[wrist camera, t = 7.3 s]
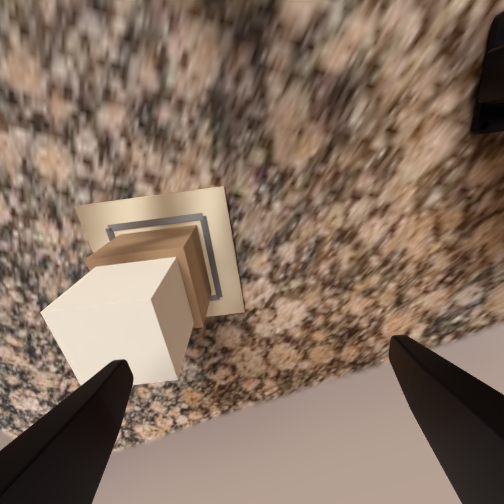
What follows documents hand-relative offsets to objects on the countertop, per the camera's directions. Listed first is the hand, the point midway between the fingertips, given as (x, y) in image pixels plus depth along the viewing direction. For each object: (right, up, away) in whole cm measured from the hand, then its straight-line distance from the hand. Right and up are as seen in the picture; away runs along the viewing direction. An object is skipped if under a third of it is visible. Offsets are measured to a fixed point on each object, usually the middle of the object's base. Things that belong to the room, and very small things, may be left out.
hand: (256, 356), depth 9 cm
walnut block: (-7, +2, +12) cm, 14 cm away
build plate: (-7, +3, +12) cm, 14 cm away
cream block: (-7, +1, +8) cm, 10 cm away
